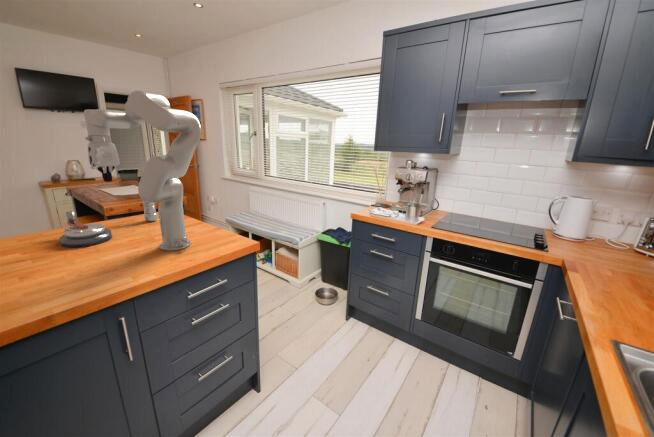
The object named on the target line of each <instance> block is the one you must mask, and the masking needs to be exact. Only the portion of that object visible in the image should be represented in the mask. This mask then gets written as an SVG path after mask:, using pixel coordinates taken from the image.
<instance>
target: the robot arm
mask: <svg viewBox="0 0 654 437" xmlns="http://www.w3.org/2000/svg"><path fill="white" fill-rule="evenodd" d="M83 117H84V120H85V126H86V132H87V136H85V137H84V138H85V141H88V144H87V156H88V161H89V162H88V163H89V165H90V170H91V169H92V170H97V171H98V172H100V174H101V176H102V180H103V181H104V183H105V182H106V183H110V182H113V175H112V173H113V171H114V170H115V169H117V168H120V166H119V165H120V164H121V162H120V157H119V153H118V150H117V148H116V147H117V146H116V145H115V143H112V138H111V133H110V129H121V130H125V129H126V130H129V129H133V128H136V127H140V126H142V125H143V123H144V122H146V123H148V125H150V126H151V127H153V128H155V129H156V130H158V131H161V132H165V133H178V135H177V136H176V137H175V138H174V139H173V141H172V142H171V144H170V148H169V150H168V152H167V153H166V154H163V155H155V156H152V157H150V158H149V159H148V160H147V161H146V162H145V165H144V167H143V170H142V173H141V175H140V176H141V177H140V179H139V183H138V188H137V190H138V195H139V198H140V199H141V201H142V200H143V201H145V202H148V203H155V204H156V203H158V202H159V204H158V207H157V208H158V220H159V224H160V232H161V239H162V242H160V243H159V245H158V246H159V249H160V250H162V251H169V252H172V251H173V252H174V251H178V250H183V249H186V248H188V247H190V246H191V240H190V239H189V238H188V237H187V234H186V233H187V232H186V224H185V215H184V214H185V213H184V206H183V204H184V203H183V197H184V184H183V183H182V181H181V180H180V178H183V177H184V176H185V175H186V174H187V171H188V170H189V167H190V164H191V161H192V159H193V157H194V153H195V152H196V149H197V147H198V145H199V143H200V140H201V138H202V131H203V130H202V125H201V123H200V120H199V118H198V117H197V115H195V114H193V113H192V112H191V111H187V110H183V109H178V108H177V109H176V108H171V104H170V102H169V100H168V99H167V98H166V97H165V96H163V95H162V94H159V93H156V92H155V93H154V92H151V91H145V90H140V89H138V90H133V91H132V92H130V93H128V96H127V101H126V102H125V104H124V110H118V109H109V108H108V109H106V108H97V109H84V111H83Z"/></svg>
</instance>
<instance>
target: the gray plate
mask: <svg viewBox="0 0 654 437" xmlns="http://www.w3.org/2000/svg"><path fill="white" fill-rule="evenodd" d="M58 239H59V244H60V246H61V247H62V248H65V249H81V248H87V247H92V246H97V245H101V244H104V243H107V242H108V241H110V240H111V239H113V235H112V230H111V229H109V228H105V233H103V234H101V235H98V236H95V237H90V238H84V239H67V238H66V237H65V234H62V235H61V236H59V238H58Z"/></svg>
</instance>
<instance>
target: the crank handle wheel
mask: <svg viewBox="0 0 654 437" xmlns="http://www.w3.org/2000/svg"><path fill="white" fill-rule="evenodd" d="M65 215H66V220H67V227H65V228H64V231H63V233H64V234H63V235H65V237H66V238H67V239H84V238H90V237H95V236H98V235H101V234H103V233H105V229H106V226H105V225H104V224H101V223H100V224H99V223H90V224H87V223H86V224H84V223H81V222H78V221H77V218H76V213H75V210H70V211H66V212H65Z"/></svg>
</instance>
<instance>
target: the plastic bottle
mask: <svg viewBox="0 0 654 437" xmlns="http://www.w3.org/2000/svg"><path fill="white" fill-rule="evenodd" d="M141 201H142V206H143V212H144V214H143V218H144V221H146V222H155V221H157V220H159V214H158V213H157V210H156V205H155V204H156V202H155V203H148V202H145V201H143V200H142V199H141Z"/></svg>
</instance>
